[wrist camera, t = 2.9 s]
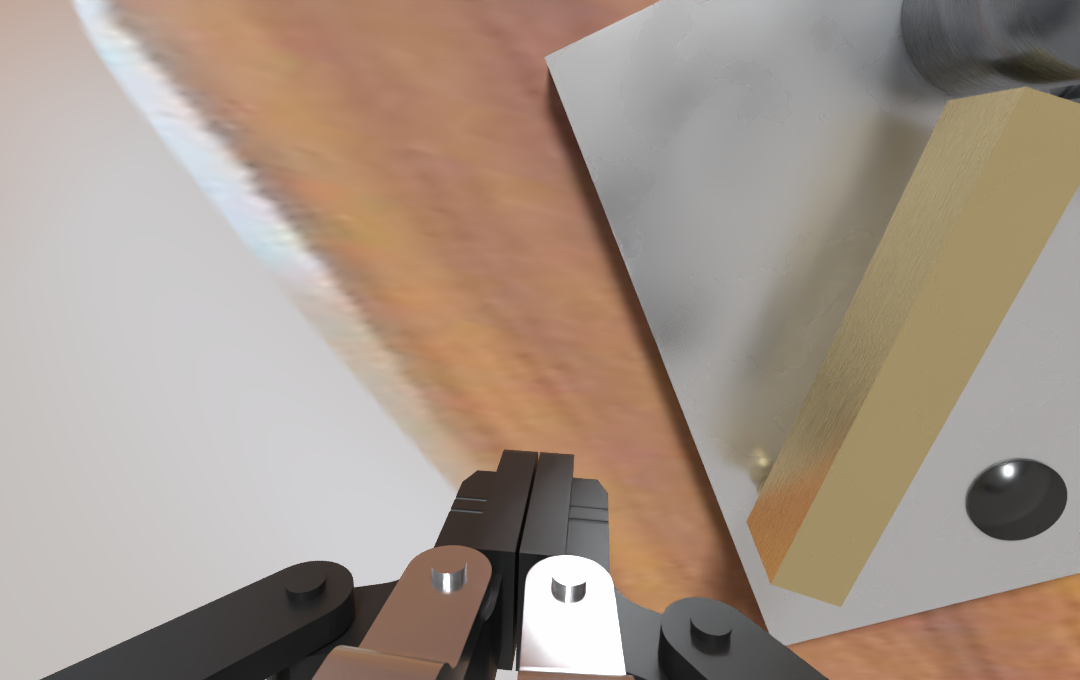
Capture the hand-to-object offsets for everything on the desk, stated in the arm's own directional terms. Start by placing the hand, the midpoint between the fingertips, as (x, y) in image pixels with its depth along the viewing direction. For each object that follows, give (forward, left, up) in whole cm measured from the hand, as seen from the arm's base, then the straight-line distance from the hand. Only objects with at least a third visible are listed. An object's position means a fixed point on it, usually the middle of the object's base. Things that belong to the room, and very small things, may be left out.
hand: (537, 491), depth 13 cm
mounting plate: (-12, 0, -5) cm, 13 cm away
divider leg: (-8, 0, -4) cm, 9 cm away
